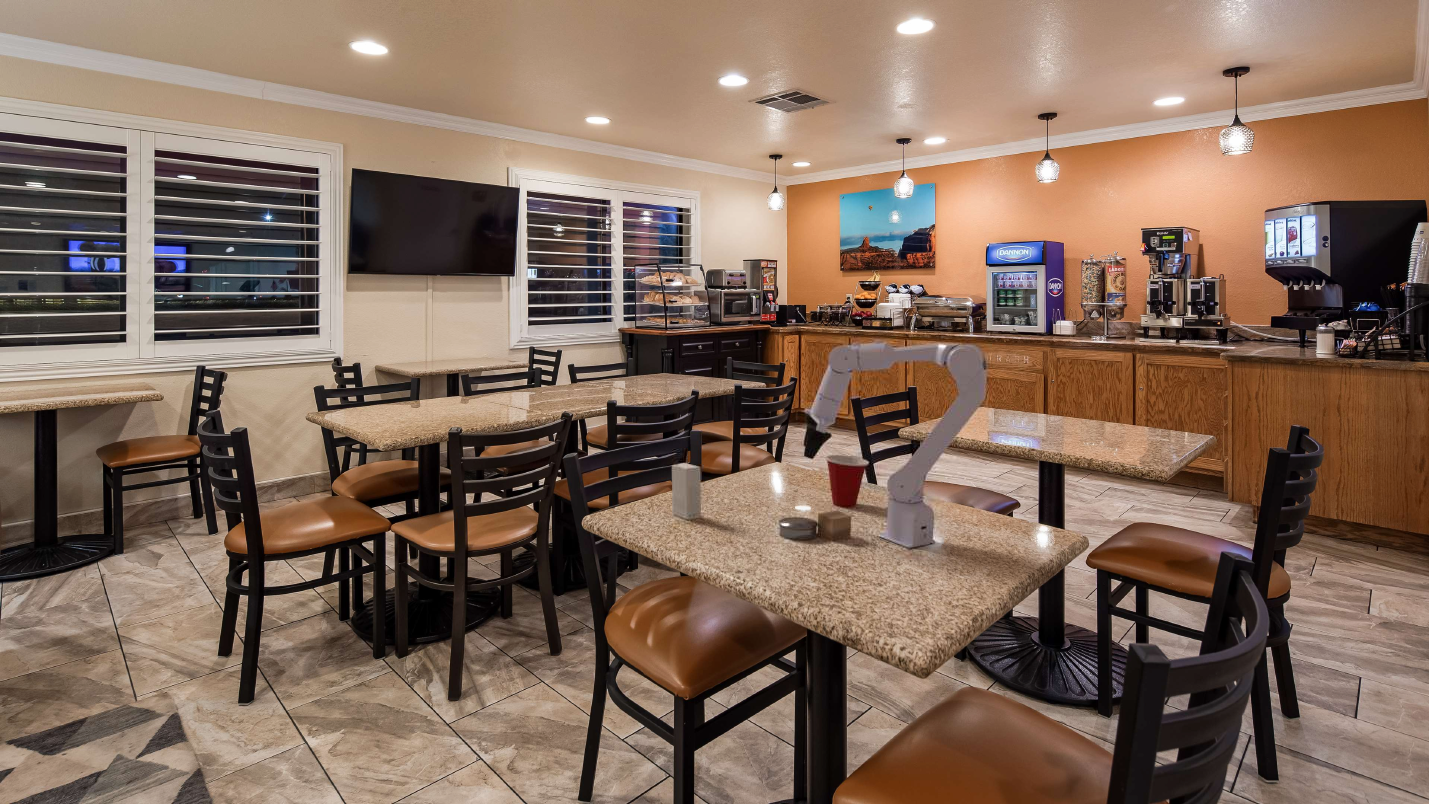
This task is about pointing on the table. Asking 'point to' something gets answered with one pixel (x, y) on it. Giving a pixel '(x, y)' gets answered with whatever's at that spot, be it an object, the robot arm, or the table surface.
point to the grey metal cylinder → (798, 528)
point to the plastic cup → (845, 478)
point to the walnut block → (834, 525)
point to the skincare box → (686, 491)
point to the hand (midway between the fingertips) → (807, 452)
